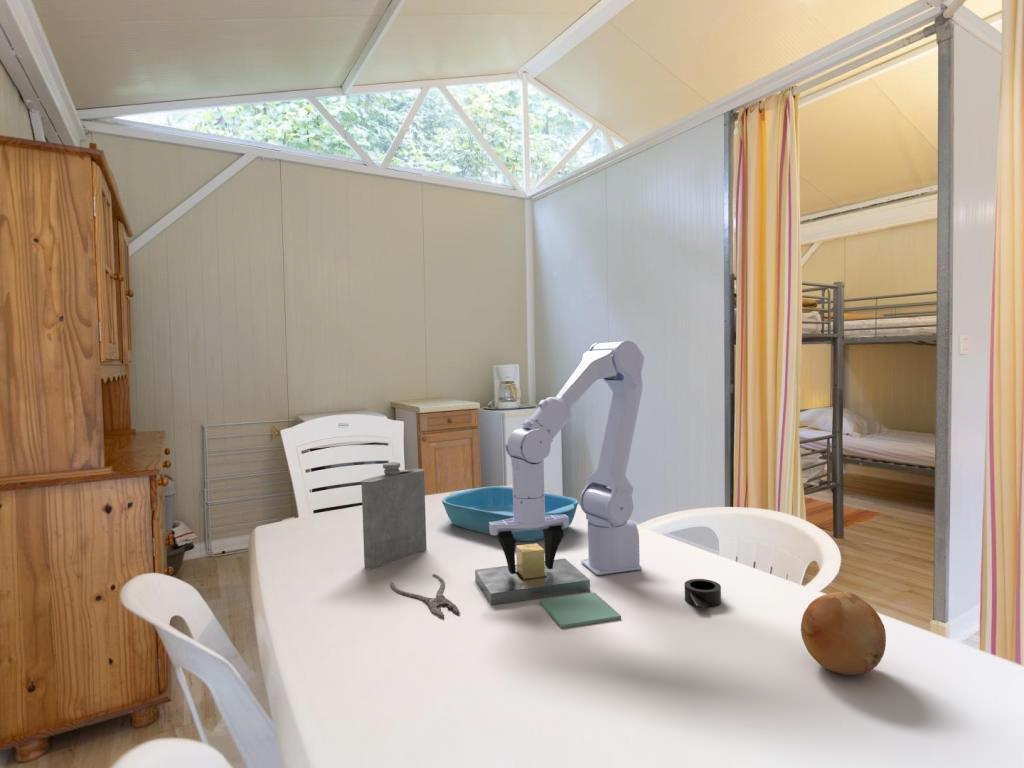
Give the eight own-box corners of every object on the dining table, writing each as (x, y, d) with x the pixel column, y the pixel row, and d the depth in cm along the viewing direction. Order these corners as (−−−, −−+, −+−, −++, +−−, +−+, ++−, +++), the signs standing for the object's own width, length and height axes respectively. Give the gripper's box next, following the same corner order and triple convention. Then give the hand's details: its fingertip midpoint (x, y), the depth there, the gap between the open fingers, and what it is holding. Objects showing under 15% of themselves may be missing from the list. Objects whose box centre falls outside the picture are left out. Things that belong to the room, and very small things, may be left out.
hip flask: (371, 570, 119) (367, 470, 118) (358, 565, 122) (354, 468, 121) (429, 548, 132) (426, 458, 131) (417, 545, 134) (414, 456, 133)
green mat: (594, 595, 104) (594, 592, 104) (621, 618, 94) (620, 615, 94) (539, 603, 101) (539, 600, 101) (561, 628, 91) (561, 625, 91)
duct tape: (665, 603, 100) (664, 586, 100) (700, 588, 106) (700, 571, 106) (705, 618, 94) (705, 600, 94) (740, 601, 100) (740, 584, 100)
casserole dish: (426, 524, 152) (425, 496, 152) (488, 506, 169) (487, 481, 168) (536, 553, 127) (535, 520, 127) (596, 529, 144) (596, 500, 143)
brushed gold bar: (537, 580, 111) (536, 543, 111) (545, 588, 107) (544, 549, 107) (517, 583, 110) (516, 545, 110) (523, 591, 106) (522, 552, 106)
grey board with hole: (565, 568, 117) (565, 558, 117) (590, 590, 105) (589, 579, 105) (475, 580, 112) (474, 569, 112) (491, 605, 100) (490, 593, 100)
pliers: (429, 570, 117) (492, 600, 101) (430, 574, 117) (492, 605, 101) (384, 583, 111) (443, 617, 95) (384, 587, 111) (443, 622, 95)
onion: (825, 644, 84) (825, 574, 84) (902, 674, 76) (902, 597, 75) (784, 664, 79) (784, 590, 79) (862, 699, 71) (862, 616, 70)
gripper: (558, 487, 114) (560, 558, 114) (484, 494, 110) (486, 567, 110) (572, 495, 107) (574, 570, 108) (493, 502, 103) (496, 580, 104)
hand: (530, 569), depth 109 cm, fingers open, 6 cm apart
